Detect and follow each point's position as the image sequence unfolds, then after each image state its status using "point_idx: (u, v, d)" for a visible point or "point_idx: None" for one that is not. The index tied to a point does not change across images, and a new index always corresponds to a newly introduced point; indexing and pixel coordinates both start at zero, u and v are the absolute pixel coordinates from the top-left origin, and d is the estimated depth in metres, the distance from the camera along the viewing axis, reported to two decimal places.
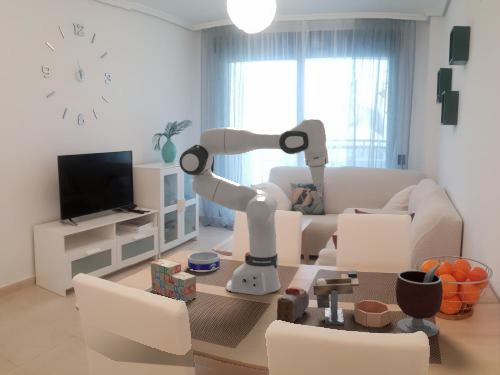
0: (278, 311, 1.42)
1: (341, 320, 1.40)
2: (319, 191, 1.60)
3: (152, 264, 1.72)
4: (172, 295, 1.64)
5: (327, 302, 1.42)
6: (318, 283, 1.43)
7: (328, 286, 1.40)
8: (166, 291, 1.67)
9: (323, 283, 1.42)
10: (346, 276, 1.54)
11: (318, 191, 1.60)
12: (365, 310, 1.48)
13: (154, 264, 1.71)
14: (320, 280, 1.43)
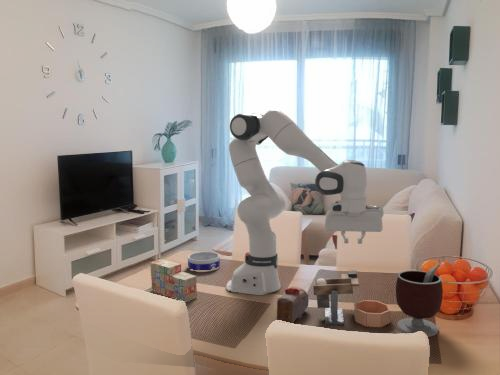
0: (278, 311, 1.42)
1: (341, 320, 1.40)
2: (343, 237, 1.53)
3: (152, 264, 1.71)
4: (172, 295, 1.64)
5: (327, 302, 1.42)
6: (318, 283, 1.43)
7: (328, 286, 1.40)
8: (167, 291, 1.66)
9: (323, 283, 1.42)
10: (346, 276, 1.54)
11: (343, 236, 1.54)
12: (365, 310, 1.48)
13: (154, 264, 1.70)
14: (320, 280, 1.43)
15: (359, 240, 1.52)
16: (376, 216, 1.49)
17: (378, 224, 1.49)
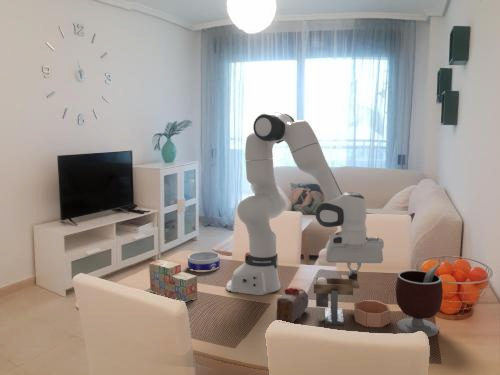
0: (278, 311, 1.42)
1: (341, 320, 1.40)
2: (349, 268, 1.54)
3: (151, 265, 1.70)
4: (173, 296, 1.64)
5: (326, 301, 1.42)
6: (319, 282, 1.43)
7: (329, 286, 1.40)
8: (167, 292, 1.66)
9: (324, 282, 1.42)
10: (346, 277, 1.54)
11: (349, 267, 1.55)
12: (365, 310, 1.48)
13: (153, 265, 1.69)
14: (321, 279, 1.43)
15: (355, 271, 1.53)
16: (376, 247, 1.50)
17: (378, 256, 1.50)
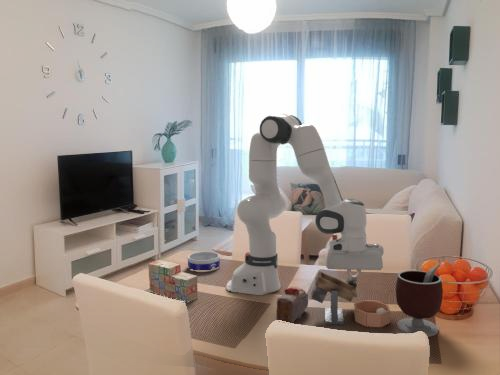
0: (278, 311, 1.42)
1: (341, 320, 1.40)
2: (349, 274, 1.55)
3: (150, 265, 1.70)
4: (173, 296, 1.64)
5: (322, 297, 1.42)
6: None
7: (332, 284, 1.40)
8: (167, 292, 1.65)
9: None
10: (345, 282, 1.54)
11: (349, 274, 1.55)
12: (365, 310, 1.48)
13: (152, 265, 1.69)
14: (378, 312, 1.41)
15: (355, 278, 1.53)
16: (376, 254, 1.50)
17: (378, 263, 1.50)
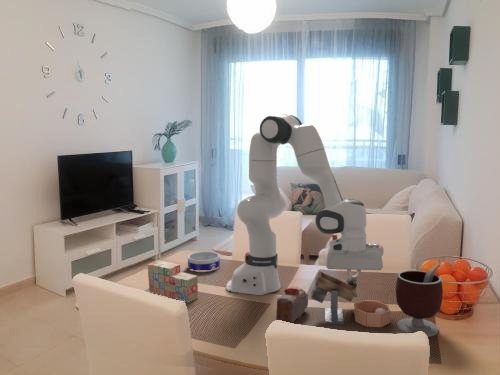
0: (278, 311, 1.42)
1: (341, 320, 1.40)
2: (349, 275, 1.55)
3: (150, 266, 1.69)
4: (173, 296, 1.63)
5: (322, 297, 1.42)
6: None
7: (332, 284, 1.40)
8: (167, 292, 1.65)
9: (380, 312, 1.40)
10: (345, 282, 1.54)
11: (349, 274, 1.55)
12: (365, 310, 1.48)
13: (152, 266, 1.68)
14: (376, 312, 1.41)
15: (355, 278, 1.53)
16: (376, 254, 1.50)
17: (378, 263, 1.50)
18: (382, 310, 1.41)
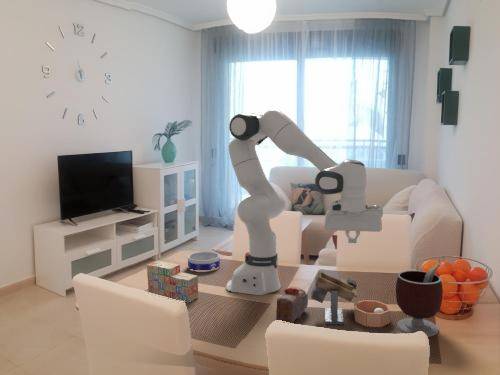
0: (277, 311, 1.42)
1: (341, 320, 1.40)
2: (347, 236, 1.53)
3: (149, 266, 1.68)
4: (173, 296, 1.63)
5: (322, 297, 1.42)
6: None
7: (332, 284, 1.40)
8: (167, 293, 1.65)
9: (378, 312, 1.40)
10: (345, 282, 1.54)
11: (347, 236, 1.54)
12: (365, 310, 1.48)
13: (151, 266, 1.68)
14: None
15: (353, 239, 1.52)
16: (375, 215, 1.49)
17: (377, 224, 1.49)
18: (380, 310, 1.41)
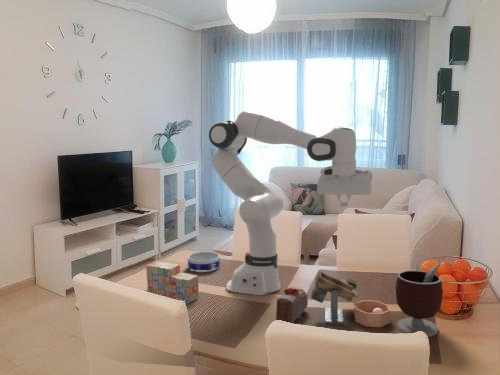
0: (277, 311, 1.42)
1: (341, 320, 1.40)
2: (339, 200, 1.61)
3: (148, 267, 1.68)
4: (174, 297, 1.63)
5: (322, 297, 1.42)
6: None
7: (332, 284, 1.40)
8: (167, 293, 1.64)
9: (377, 312, 1.41)
10: (345, 282, 1.54)
11: None
12: (365, 310, 1.48)
13: (151, 267, 1.67)
14: None
15: (345, 203, 1.60)
16: (365, 179, 1.57)
17: (367, 187, 1.57)
18: (378, 309, 1.41)
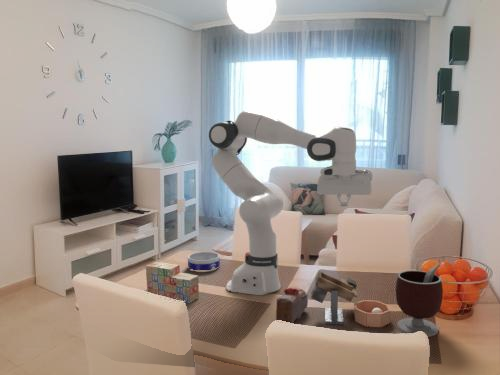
0: (277, 311, 1.42)
1: (341, 320, 1.40)
2: (339, 200, 1.61)
3: (148, 267, 1.67)
4: (174, 297, 1.63)
5: (322, 297, 1.42)
6: None
7: (332, 284, 1.40)
8: (167, 293, 1.64)
9: (375, 312, 1.41)
10: (345, 282, 1.54)
11: None
12: (365, 310, 1.48)
13: (151, 267, 1.67)
14: None
15: (345, 203, 1.60)
16: (365, 179, 1.57)
17: (367, 187, 1.57)
18: (376, 310, 1.41)
